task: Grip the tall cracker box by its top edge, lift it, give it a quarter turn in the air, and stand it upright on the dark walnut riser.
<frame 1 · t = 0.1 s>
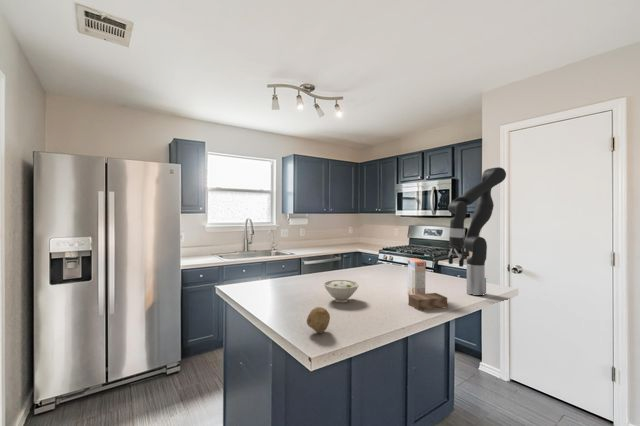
hand: (455, 265, 168), 17 cm above the table, tool pointing down, fingers open, 8 cm apart
brown round lump: (318, 333, 116), on the table
bowl: (341, 300, 159), on the table
cracker box: (416, 297, 165), on the table
riser: (427, 306, 149), on the table
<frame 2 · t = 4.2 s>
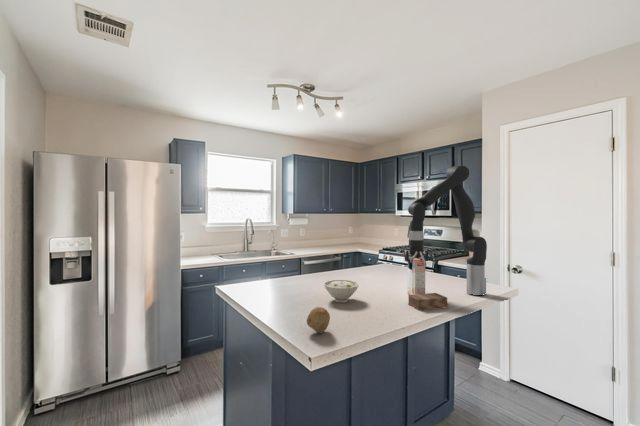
hand: (416, 269, 164), 16 cm above the table, tool pointing down, fingers closed on cracker box, 6 cm apart
cracker box: (416, 297, 165), on the table, touching gripper
everything else where it was.
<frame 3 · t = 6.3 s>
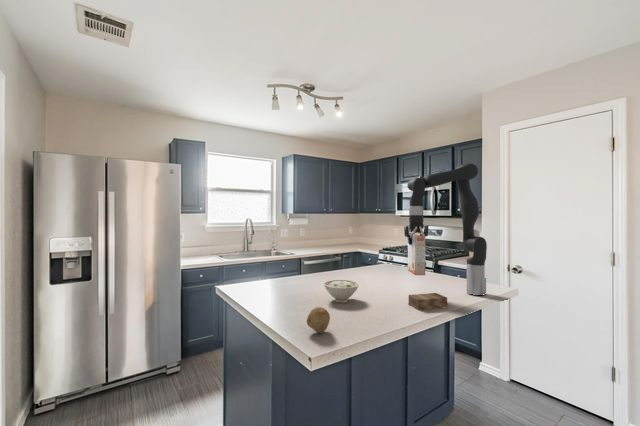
hand: (416, 244, 164), 29 cm above the table, tool pointing down, fingers closed on cracker box, 6 cm apart
cracker box: (416, 273, 165), point 13 cm above the table, touching gripper
everything else where it was.
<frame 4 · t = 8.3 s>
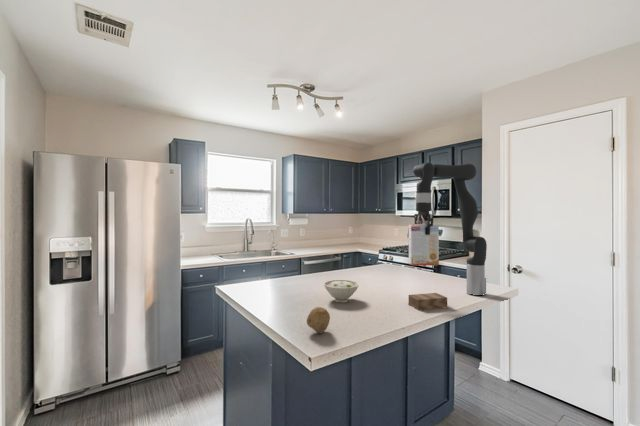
hand: (423, 234, 154), 36 cm above the table, tool pointing down, fingers closed on cracker box, 6 cm apart
cracker box: (423, 265, 154), point 20 cm above the table, touching gripper
everything else where it was.
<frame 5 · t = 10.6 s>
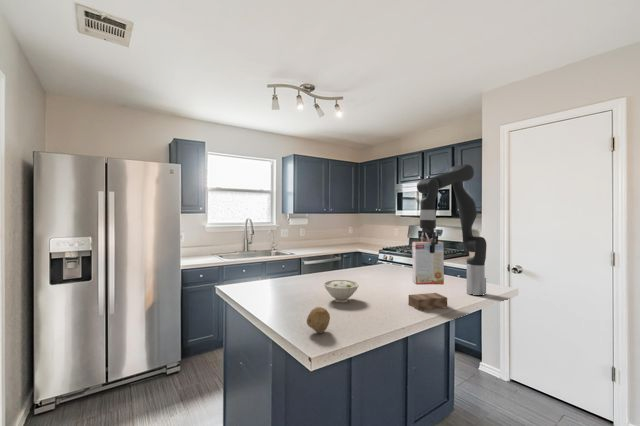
hand: (427, 252, 149), 27 cm above the table, tool pointing down, fingers closed on cracker box, 6 cm apart
cracker box: (427, 283, 149), point 11 cm above the table, touching gripper
everything else where it was.
when the fingers open (22 cm above the table, at t = 12.6 s): cracker box stays where it is, resting on riser.
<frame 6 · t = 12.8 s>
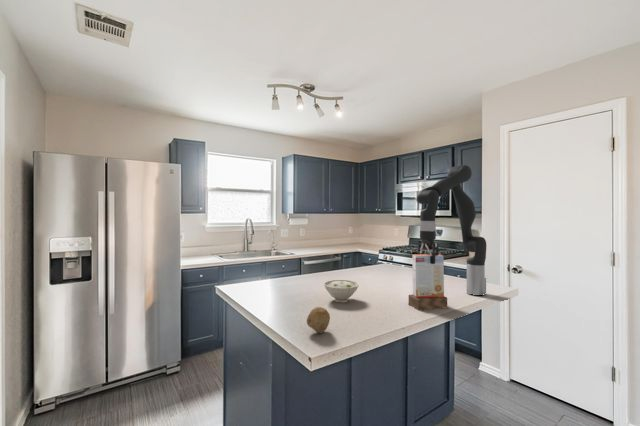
hand: (427, 262, 149), 22 cm above the table, tool pointing down, fingers open, 8 cm apart
cracker box: (427, 296, 149), point 5 cm above the table, touching riser
everything else where it was.
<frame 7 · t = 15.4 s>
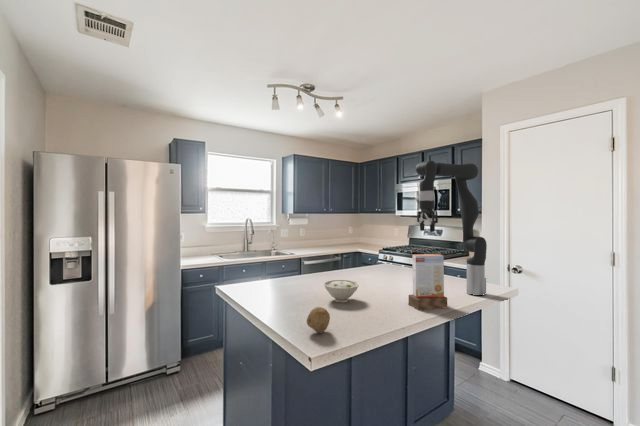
hand: (427, 231, 154), 37 cm above the table, tool pointing down, fingers open, 8 cm apart
nothing on the table moved.
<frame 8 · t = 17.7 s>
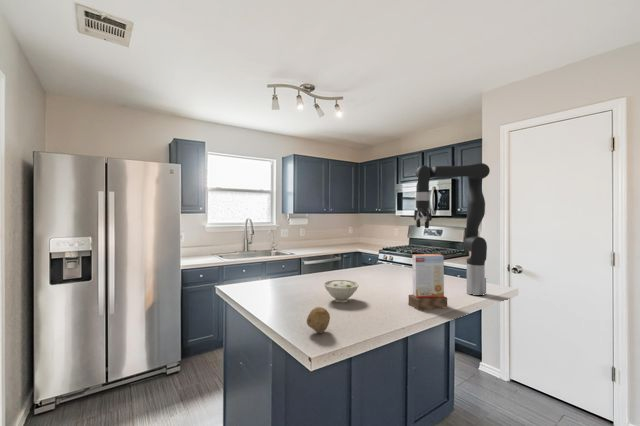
hand: (422, 227, 174), 38 cm above the table, tool pointing down, fingers open, 8 cm apart
nothing on the table moved.
at the end: cracker box 0.1 cm off-centre on the riser, point 4.8 cm above the riser's base; cracker box tilted 0°; the gripper is holding nothing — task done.
